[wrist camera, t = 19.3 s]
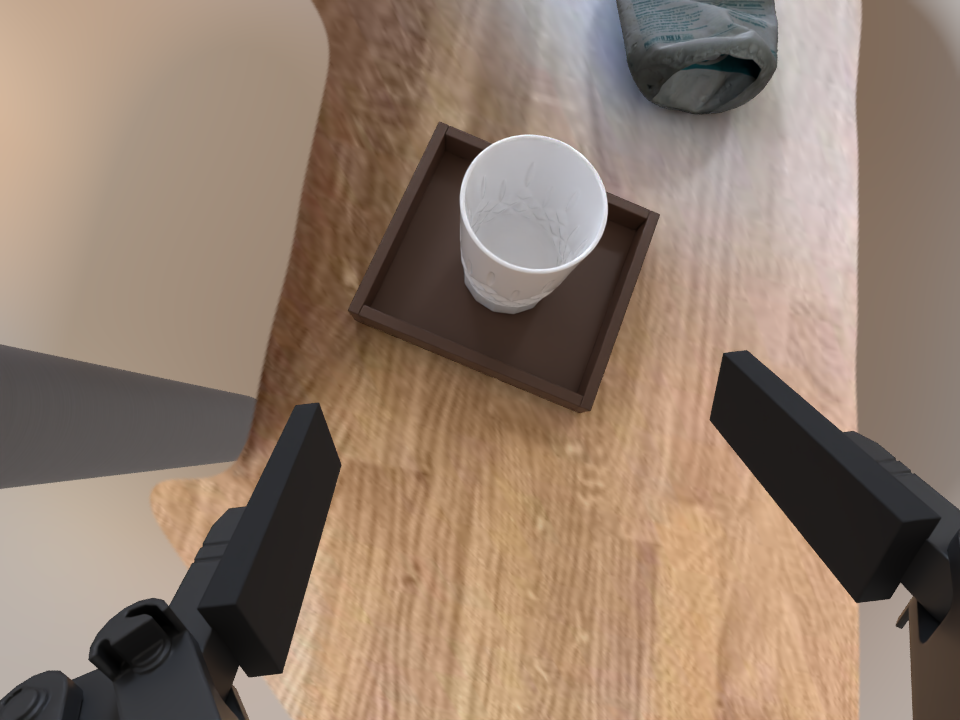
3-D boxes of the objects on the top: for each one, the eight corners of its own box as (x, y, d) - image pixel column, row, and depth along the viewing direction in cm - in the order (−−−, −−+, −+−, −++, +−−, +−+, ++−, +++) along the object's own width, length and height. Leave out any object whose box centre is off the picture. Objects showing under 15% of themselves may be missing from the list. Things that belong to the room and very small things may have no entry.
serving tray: (354, 319, 32) (347, 310, 30) (439, 142, 35) (439, 120, 33) (579, 413, 32) (590, 411, 30) (645, 229, 35) (660, 214, 33)
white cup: (449, 225, 34) (452, 137, 24) (552, 218, 34) (596, 130, 24) (460, 327, 32) (468, 279, 22) (566, 317, 33) (619, 267, 23)
